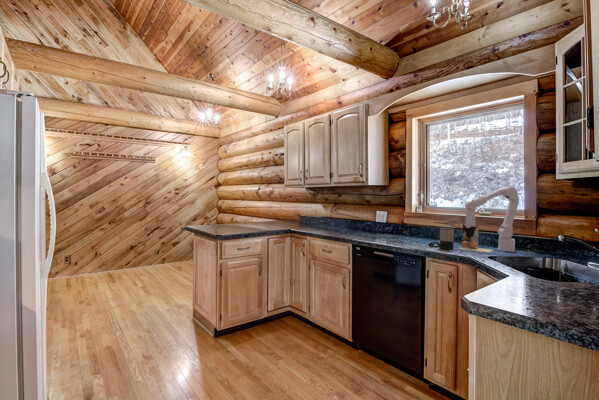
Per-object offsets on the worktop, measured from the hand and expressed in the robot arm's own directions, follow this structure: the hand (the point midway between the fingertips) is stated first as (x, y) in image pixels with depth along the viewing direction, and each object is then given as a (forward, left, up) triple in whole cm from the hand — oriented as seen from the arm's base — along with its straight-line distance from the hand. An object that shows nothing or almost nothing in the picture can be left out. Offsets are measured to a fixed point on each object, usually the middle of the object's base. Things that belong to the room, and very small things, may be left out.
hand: (469, 237), depth 217 cm
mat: (-5, +3, -8) cm, 10 cm away
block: (0, 0, -8) cm, 8 cm away
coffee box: (+3, -17, -8) cm, 19 cm away
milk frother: (+15, +16, -8) cm, 23 cm away
